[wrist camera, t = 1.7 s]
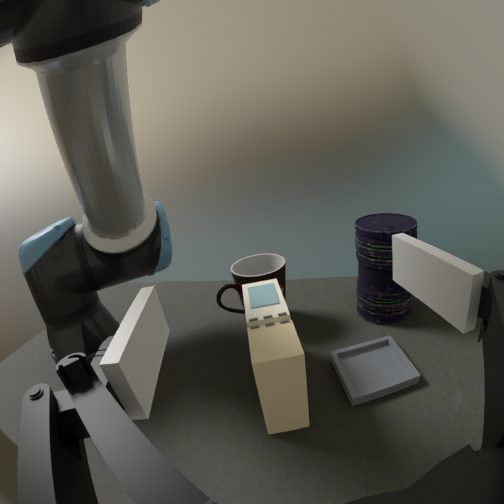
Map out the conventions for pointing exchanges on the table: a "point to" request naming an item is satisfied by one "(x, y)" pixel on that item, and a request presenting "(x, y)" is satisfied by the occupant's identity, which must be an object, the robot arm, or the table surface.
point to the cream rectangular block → (280, 375)
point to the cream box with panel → (264, 303)
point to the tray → (373, 369)
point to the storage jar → (381, 268)
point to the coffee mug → (255, 274)
